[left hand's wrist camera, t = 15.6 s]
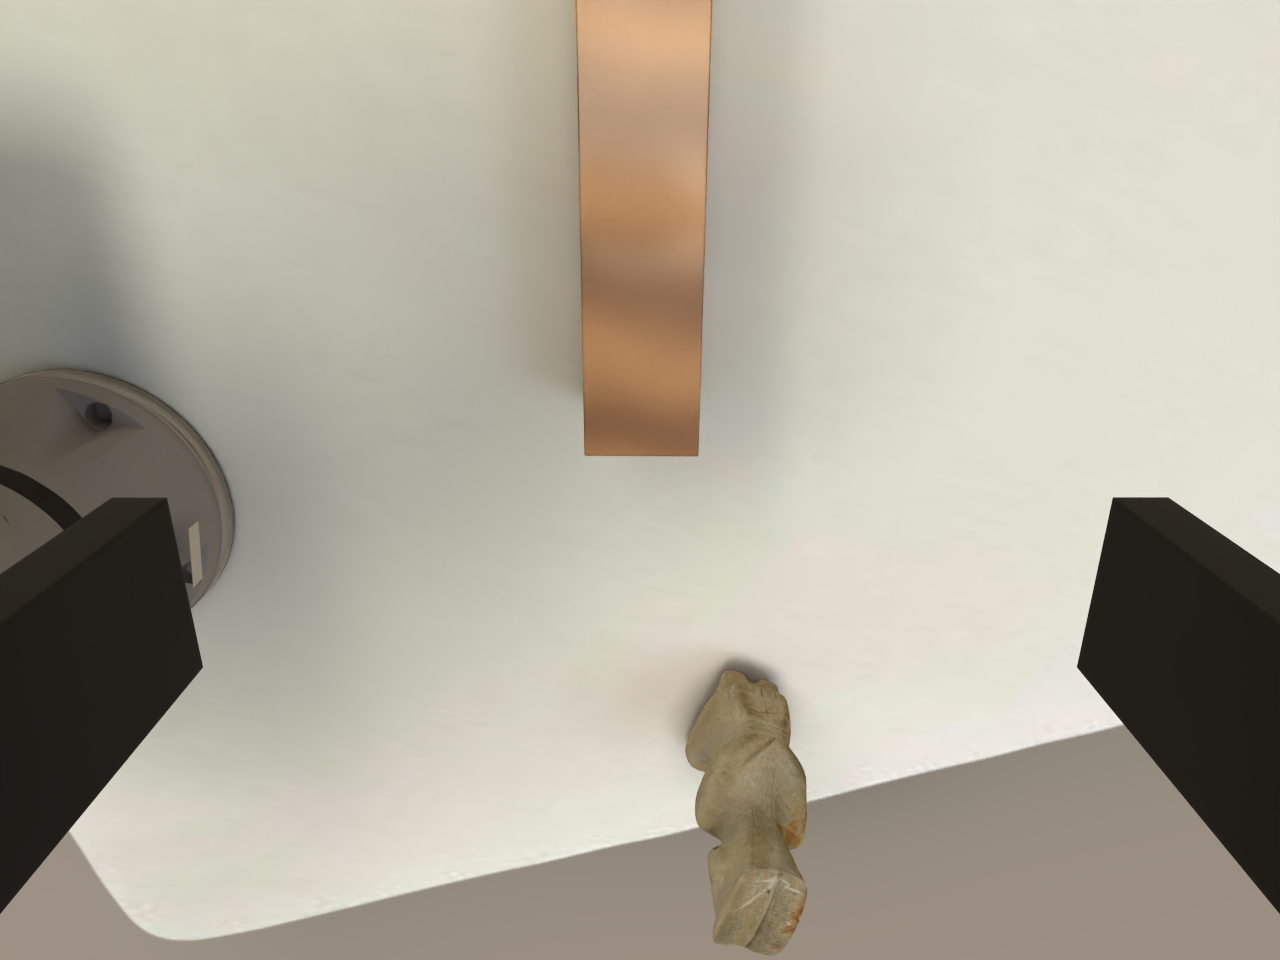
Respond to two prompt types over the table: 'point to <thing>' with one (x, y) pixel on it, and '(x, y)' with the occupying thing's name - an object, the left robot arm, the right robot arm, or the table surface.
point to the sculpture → (750, 812)
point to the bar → (642, 221)
